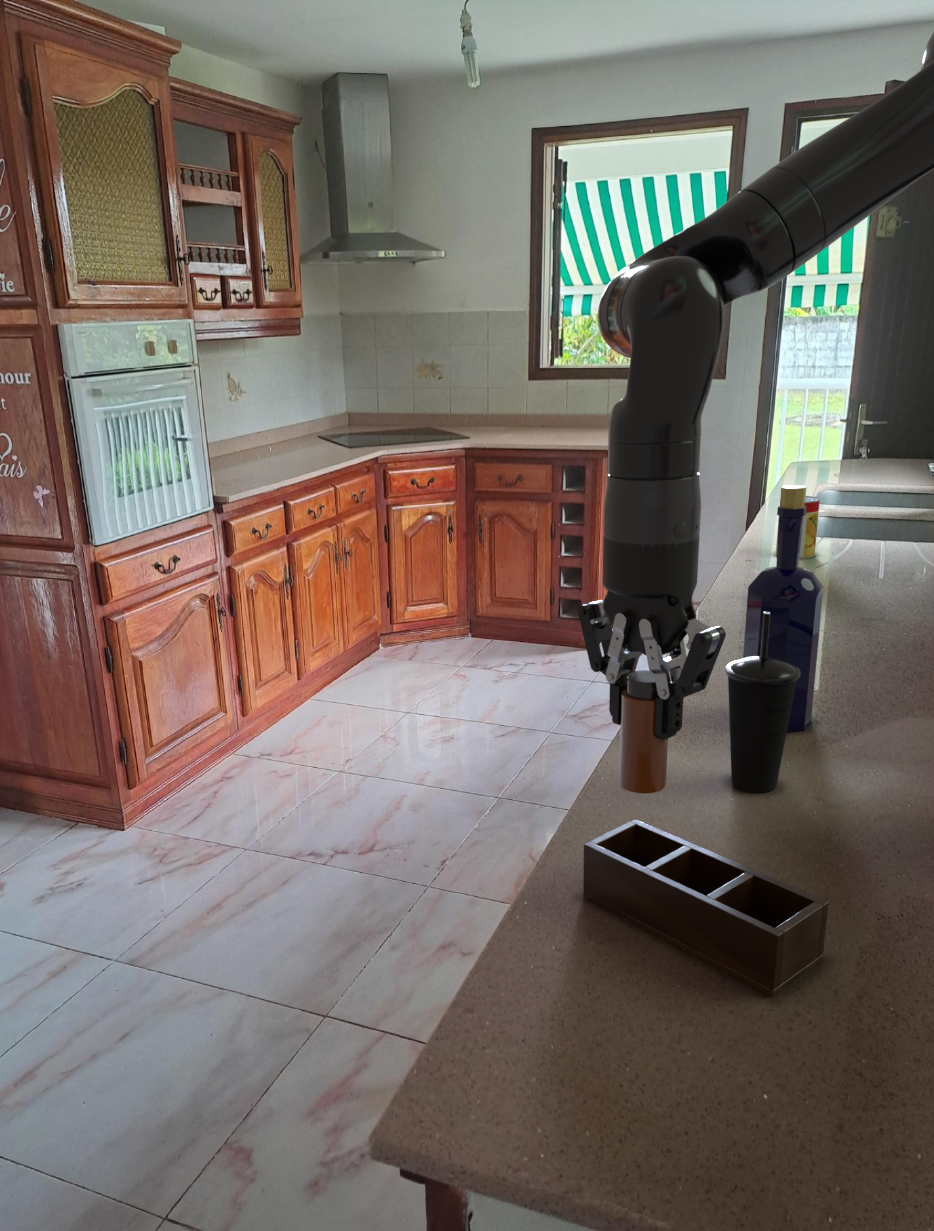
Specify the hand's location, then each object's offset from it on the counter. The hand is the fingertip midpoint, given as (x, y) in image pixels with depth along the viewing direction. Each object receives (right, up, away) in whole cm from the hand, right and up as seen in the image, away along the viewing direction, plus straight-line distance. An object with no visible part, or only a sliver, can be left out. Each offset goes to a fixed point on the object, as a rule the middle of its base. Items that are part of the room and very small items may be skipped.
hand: (644, 728), depth 85 cm
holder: (+5, -17, +1) cm, 18 cm away
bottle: (+27, 0, +44) cm, 52 cm away
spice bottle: (0, -5, +2) cm, 5 cm away
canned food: (+63, +33, +129) cm, 148 cm away
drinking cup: (+19, -7, +27) cm, 33 cm away
